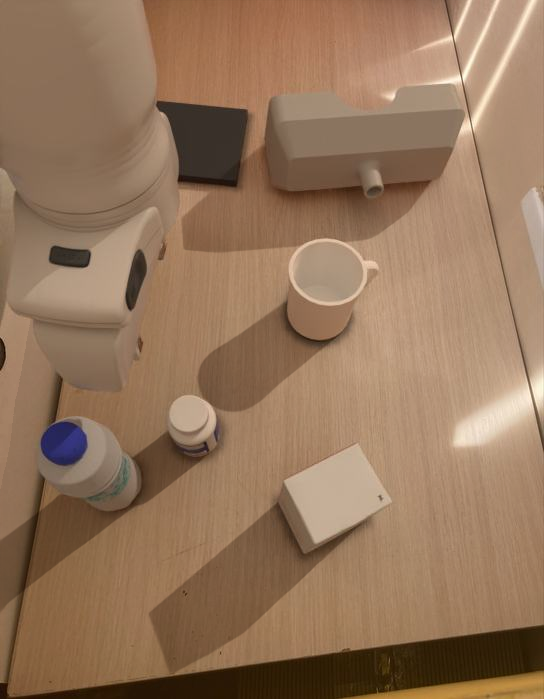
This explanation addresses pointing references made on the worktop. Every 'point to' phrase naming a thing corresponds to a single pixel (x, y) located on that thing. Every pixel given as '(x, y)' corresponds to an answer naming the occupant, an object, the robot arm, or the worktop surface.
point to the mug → (325, 287)
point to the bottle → (87, 463)
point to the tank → (361, 139)
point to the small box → (331, 497)
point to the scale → (207, 141)
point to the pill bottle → (193, 425)
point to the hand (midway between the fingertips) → (144, 300)
